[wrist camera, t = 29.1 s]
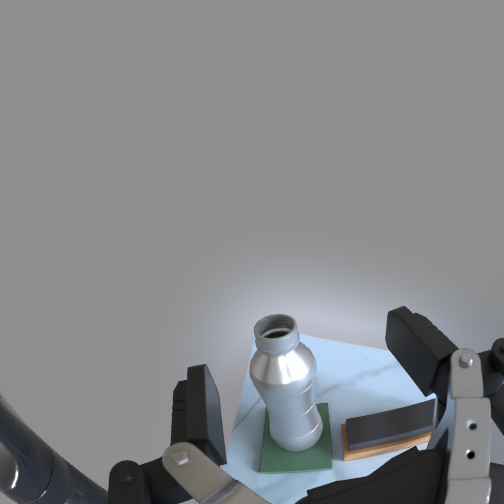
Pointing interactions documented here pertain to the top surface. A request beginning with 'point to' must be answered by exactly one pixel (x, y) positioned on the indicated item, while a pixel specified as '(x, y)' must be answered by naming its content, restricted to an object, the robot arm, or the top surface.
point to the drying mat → (299, 461)
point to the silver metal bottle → (286, 383)
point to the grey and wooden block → (387, 431)
